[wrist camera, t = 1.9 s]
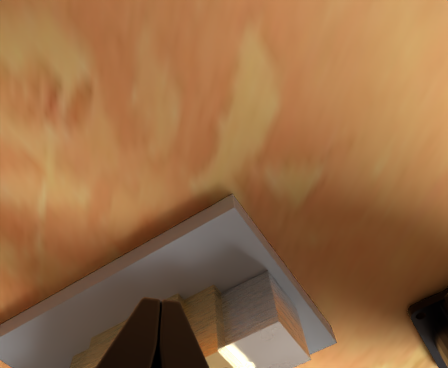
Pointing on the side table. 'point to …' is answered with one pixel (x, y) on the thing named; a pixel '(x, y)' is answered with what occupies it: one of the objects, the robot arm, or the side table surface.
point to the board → (156, 287)
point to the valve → (232, 327)
